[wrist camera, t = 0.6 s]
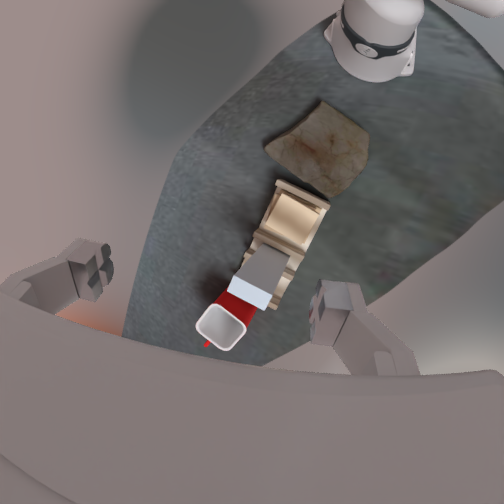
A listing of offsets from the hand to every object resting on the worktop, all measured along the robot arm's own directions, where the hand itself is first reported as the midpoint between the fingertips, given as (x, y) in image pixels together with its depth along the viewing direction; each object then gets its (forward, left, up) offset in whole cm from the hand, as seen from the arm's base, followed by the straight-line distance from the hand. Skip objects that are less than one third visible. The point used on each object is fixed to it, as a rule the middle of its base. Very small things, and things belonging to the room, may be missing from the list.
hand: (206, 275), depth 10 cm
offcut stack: (+4, 0, -43) cm, 44 cm away
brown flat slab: (-10, -1, -45) cm, 47 cm away
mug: (+29, -3, -45) cm, 54 cm away
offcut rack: (+10, 0, -45) cm, 46 cm away
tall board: (+12, 0, -43) cm, 45 cm away
